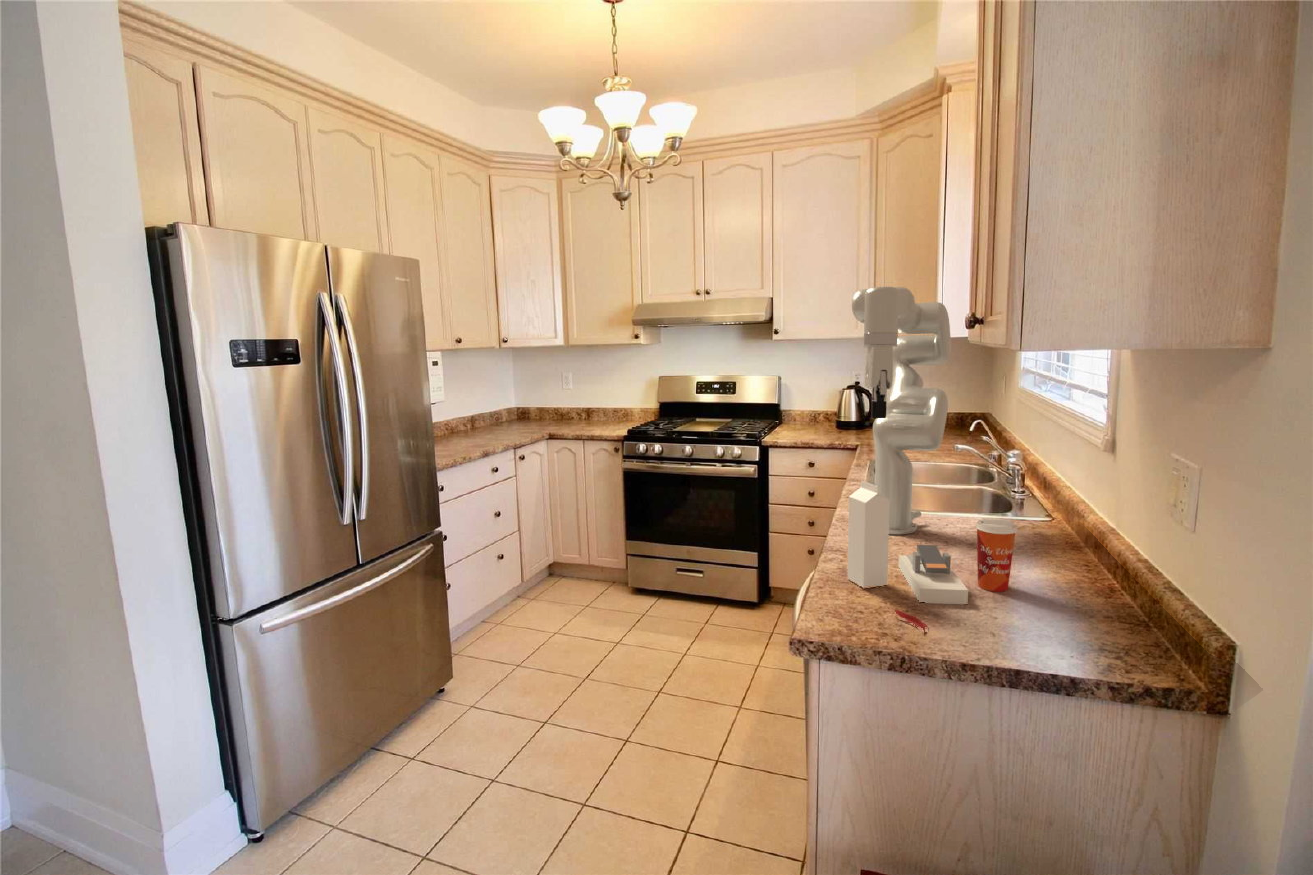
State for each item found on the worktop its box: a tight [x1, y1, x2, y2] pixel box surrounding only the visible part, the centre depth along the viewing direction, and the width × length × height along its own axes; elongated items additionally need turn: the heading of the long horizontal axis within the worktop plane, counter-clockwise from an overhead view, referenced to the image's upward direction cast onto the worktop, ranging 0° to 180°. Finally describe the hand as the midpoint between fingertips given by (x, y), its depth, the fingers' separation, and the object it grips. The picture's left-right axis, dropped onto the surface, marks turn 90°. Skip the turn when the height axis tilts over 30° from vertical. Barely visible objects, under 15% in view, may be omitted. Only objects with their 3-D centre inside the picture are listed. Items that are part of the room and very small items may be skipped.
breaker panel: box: [897, 551, 969, 605], centre depth 139 cm, size 20×9×7 cm, turn 171°
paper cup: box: [974, 517, 1018, 593], centre depth 136 cm, size 8×8×14 cm
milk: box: [846, 480, 890, 587], centre depth 139 cm, size 6×6×22 cm
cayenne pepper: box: [894, 609, 928, 632], centre depth 122 cm, size 12×5×2 cm, turn 177°
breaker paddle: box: [916, 544, 947, 573], centre depth 138 cm, size 9×4×1 cm, turn 171°
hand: (878, 417), depth 157 cm, fingers closed
